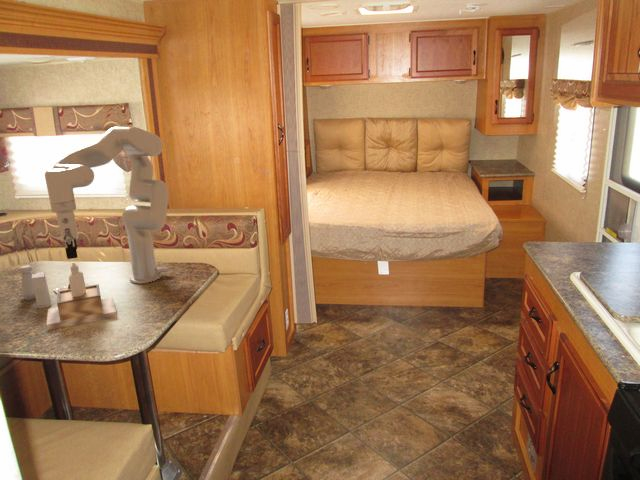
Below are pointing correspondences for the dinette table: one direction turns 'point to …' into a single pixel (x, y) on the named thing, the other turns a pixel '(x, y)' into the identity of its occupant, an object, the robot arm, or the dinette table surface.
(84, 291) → the eye dropper bottle
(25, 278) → the salt shaker
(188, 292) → the dinette table surface
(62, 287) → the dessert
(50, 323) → the display plinth
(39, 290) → the skincare box
